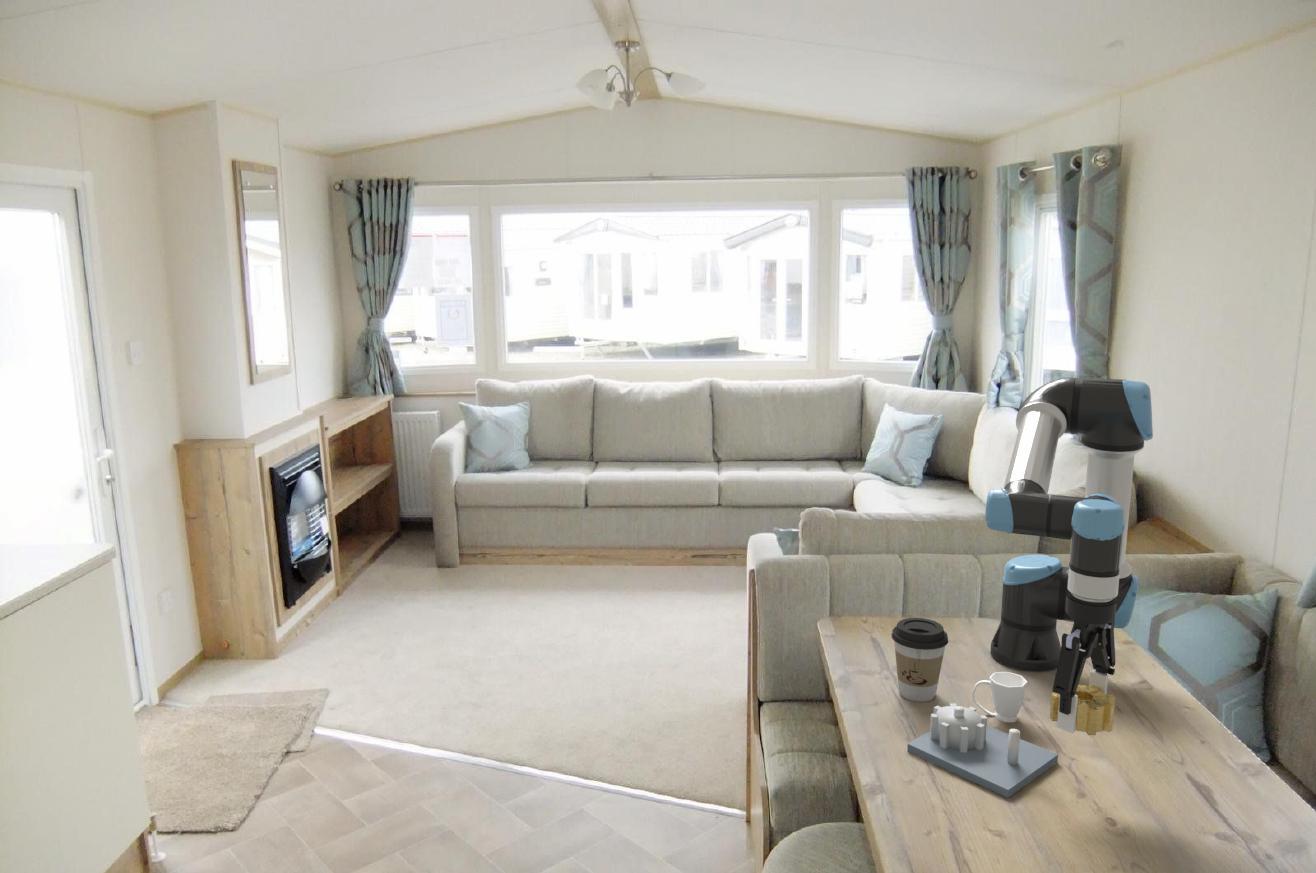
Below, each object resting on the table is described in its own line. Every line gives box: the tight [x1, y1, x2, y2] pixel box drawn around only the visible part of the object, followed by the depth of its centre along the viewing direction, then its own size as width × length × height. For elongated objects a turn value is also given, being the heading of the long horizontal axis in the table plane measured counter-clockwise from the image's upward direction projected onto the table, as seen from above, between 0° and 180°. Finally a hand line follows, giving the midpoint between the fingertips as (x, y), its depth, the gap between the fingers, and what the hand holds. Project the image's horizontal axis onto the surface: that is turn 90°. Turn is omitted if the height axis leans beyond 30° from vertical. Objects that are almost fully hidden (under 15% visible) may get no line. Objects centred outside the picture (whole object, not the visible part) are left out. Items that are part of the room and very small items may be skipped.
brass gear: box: [1049, 684, 1116, 736], centre depth 157 cm, size 10×10×4 cm
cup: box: [971, 671, 1028, 723], centre depth 184 cm, size 7×10×8 cm
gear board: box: [907, 703, 1059, 799], centre depth 169 cm, size 17×20×8 cm
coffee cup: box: [890, 617, 949, 703], centre depth 193 cm, size 11×11×15 cm
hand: (1081, 718), depth 158 cm, fingers closed on brass gear, 10 cm apart
